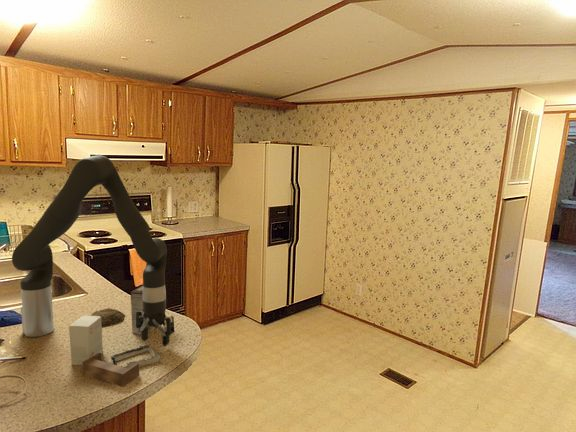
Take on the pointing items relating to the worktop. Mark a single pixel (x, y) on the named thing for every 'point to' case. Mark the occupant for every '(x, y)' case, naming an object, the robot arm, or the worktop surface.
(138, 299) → the coffee box
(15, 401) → the worktop surface
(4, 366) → the worktop surface
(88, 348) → the small box
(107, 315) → the bread roll
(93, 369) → the walnut arch
